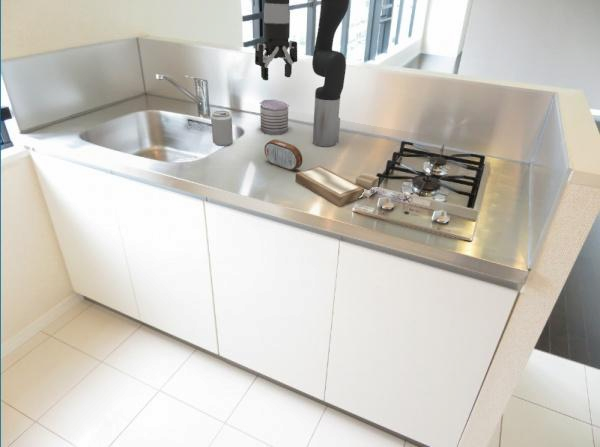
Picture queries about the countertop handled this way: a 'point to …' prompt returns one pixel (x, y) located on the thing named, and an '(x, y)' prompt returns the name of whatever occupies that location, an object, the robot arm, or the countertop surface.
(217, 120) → the can
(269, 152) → the tin
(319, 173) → the block
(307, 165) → the countertop surface
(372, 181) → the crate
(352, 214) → the countertop surface
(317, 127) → the robot arm
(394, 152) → the countertop surface
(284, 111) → the can
